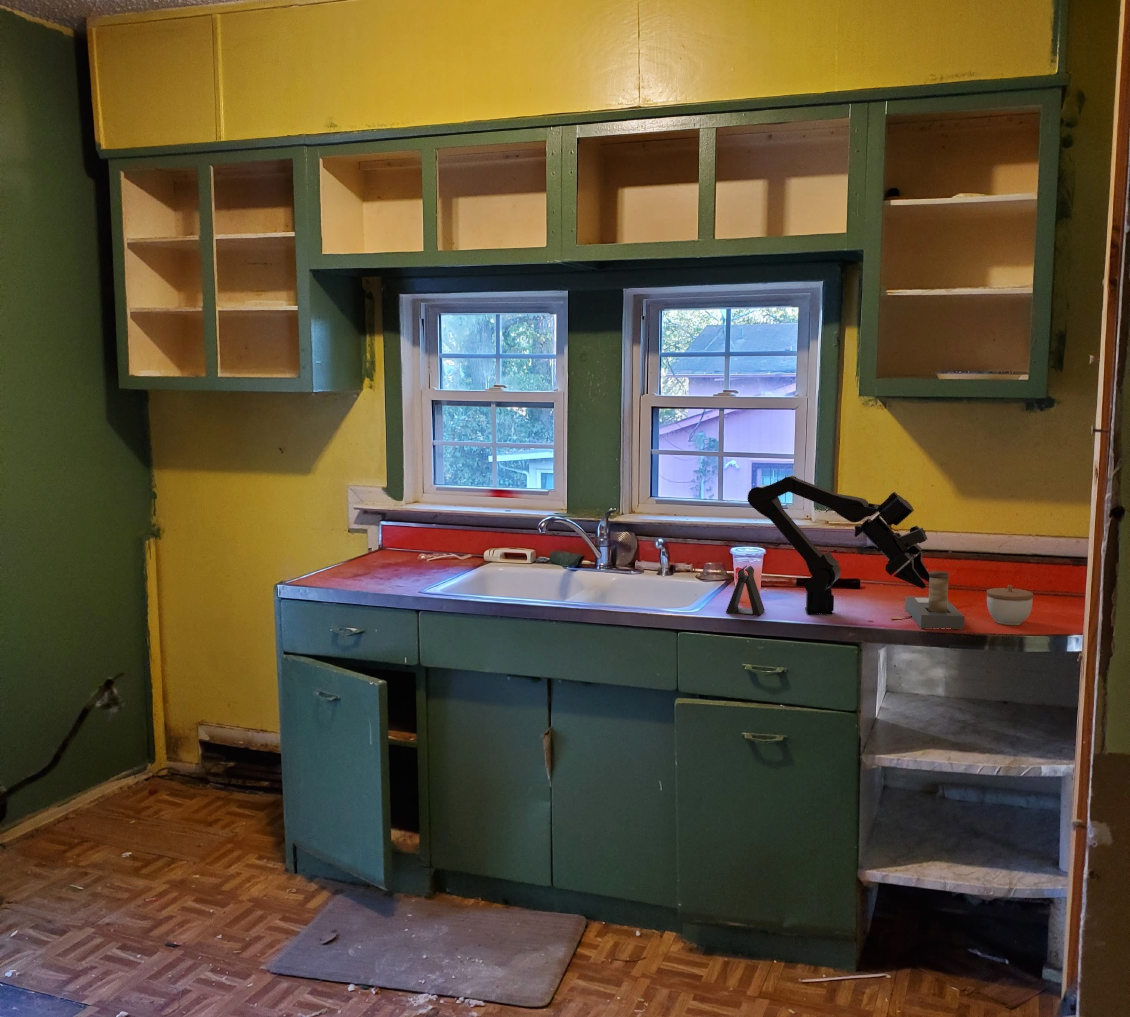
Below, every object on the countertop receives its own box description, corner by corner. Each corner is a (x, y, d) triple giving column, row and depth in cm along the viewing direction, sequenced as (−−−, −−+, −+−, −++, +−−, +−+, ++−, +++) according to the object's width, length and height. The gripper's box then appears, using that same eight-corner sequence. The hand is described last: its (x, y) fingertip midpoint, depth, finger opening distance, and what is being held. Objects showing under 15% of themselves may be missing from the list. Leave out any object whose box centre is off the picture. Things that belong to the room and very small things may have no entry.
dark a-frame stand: (764, 611, 277) (765, 566, 276) (759, 616, 272) (760, 570, 270) (731, 608, 281) (731, 564, 279) (725, 613, 275) (726, 568, 274)
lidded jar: (1034, 628, 256) (1036, 590, 255) (988, 626, 259) (989, 588, 258) (1028, 618, 267) (1030, 582, 265) (983, 616, 269) (984, 580, 268)
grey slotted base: (920, 629, 256) (921, 614, 256) (905, 609, 278) (905, 595, 277) (963, 630, 255) (964, 615, 254) (944, 610, 276) (944, 596, 276)
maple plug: (929, 625, 260) (931, 574, 258) (925, 621, 264) (927, 570, 263) (948, 626, 259) (950, 574, 257) (944, 622, 263) (946, 571, 262)
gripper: (900, 521, 254) (946, 569, 250) (914, 512, 270) (958, 557, 266) (866, 551, 259) (911, 599, 255) (882, 540, 275) (925, 585, 271)
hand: (927, 584), depth 262 cm, fingers open, 9 cm apart
